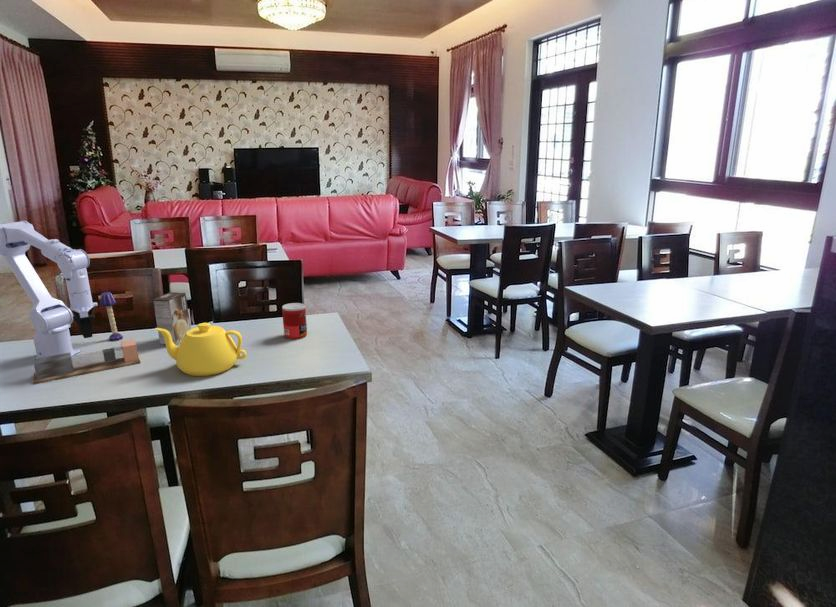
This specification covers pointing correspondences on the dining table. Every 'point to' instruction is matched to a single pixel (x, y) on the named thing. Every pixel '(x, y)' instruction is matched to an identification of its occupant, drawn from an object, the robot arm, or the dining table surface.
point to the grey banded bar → (97, 356)
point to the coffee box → (172, 315)
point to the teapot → (205, 350)
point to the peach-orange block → (129, 350)
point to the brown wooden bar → (70, 367)
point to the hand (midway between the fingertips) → (87, 333)
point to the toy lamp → (110, 314)
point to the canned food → (294, 320)
